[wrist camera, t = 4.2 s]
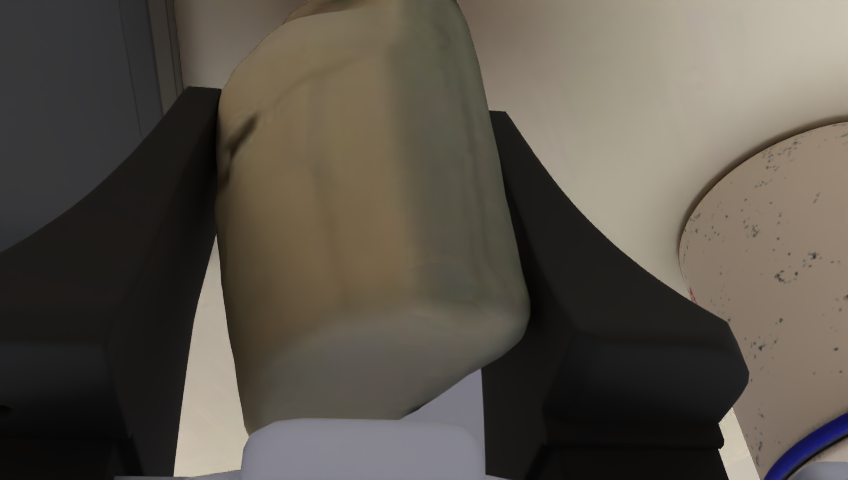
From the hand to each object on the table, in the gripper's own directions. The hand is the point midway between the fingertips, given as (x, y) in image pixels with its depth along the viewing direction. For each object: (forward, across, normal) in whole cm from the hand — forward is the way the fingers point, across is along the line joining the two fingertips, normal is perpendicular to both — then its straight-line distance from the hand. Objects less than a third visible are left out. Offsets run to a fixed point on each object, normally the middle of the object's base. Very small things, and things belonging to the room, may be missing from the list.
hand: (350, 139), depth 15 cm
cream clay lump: (+2, 0, 0) cm, 2 cm away
